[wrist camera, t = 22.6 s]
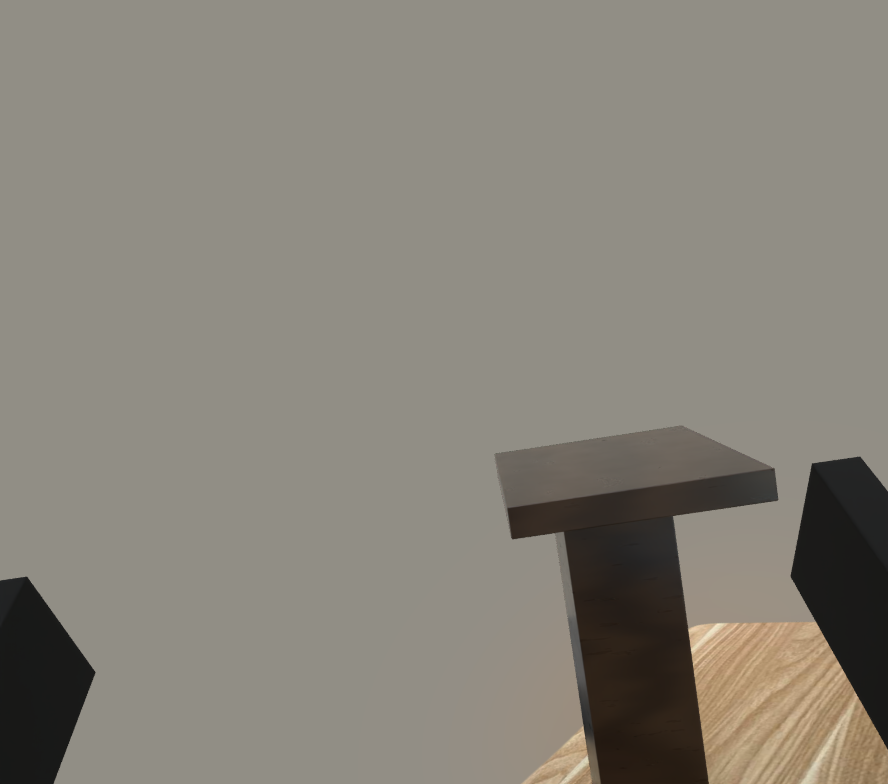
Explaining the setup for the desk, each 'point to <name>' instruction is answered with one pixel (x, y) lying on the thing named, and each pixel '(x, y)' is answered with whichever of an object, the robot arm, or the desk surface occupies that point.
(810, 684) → the desk surface
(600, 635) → the stand
